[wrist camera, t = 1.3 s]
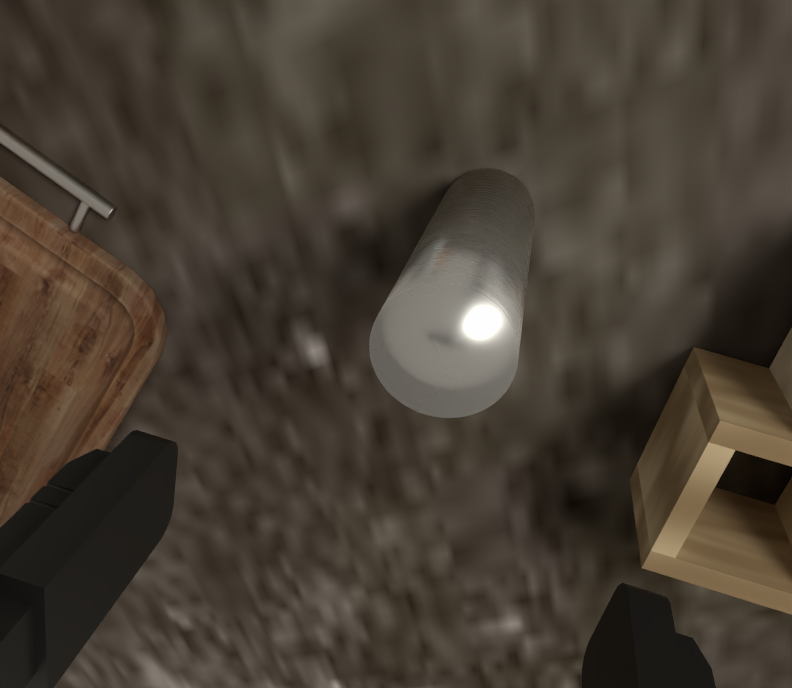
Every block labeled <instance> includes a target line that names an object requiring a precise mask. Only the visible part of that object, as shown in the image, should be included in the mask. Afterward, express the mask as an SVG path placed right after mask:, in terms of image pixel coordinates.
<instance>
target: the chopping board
mask: <svg viewBox="0 0 792 688" xmlns="http://www.w3.org/2000/svg"><path fill="white" fill-rule="evenodd" d="M0 144H1V145H3V146H4V147H6V148H7V149H8V150H10V151H11V152H13V153H14V154H15V155H17V156H18V157H20V158H21V159H22V160H24V161H25V162H27V163H28V164H29V165H31V166H32V167H34V168H35V169H36V170H38V171H39V172H41V173H42V174H43V175H45V176H46V177H48V178H49V179H50V180H52V181H53V182H55V183H56V184H57V185H59V186H60V187H62V188H63V189H65V190H66V191H67V192H69V193H70V194H72V195H73V196H74V197H76V198H77V199H79V200H80V201H81V202H80V205H79V207H78V209H77V211H76V213H75V216H74V218H73V220H72V222H71V224H70V226H69V225H68V224H66V223H65V222H64V221H62V220H61V219H59V218H58V217H57V216H55V215H54V214H52V213H51V212H49V211H48V210H47V209H45V208H44V207H42V206H41V205H40V204H38V203H37V202H35V201H34V200H32V199H31V198H30V197H28V196H27V195H25V194H24V193H23V192H21V191H20V190H18V189H17V188H15V187H14V186H13V185H11V184H10V183H8V182H7V181H6V180H4V179H3V178H1V177H0V527H1V526H2V525H3V524H5V523H6V522H7V521H8V520H9V519H10V518H11V517H12V516H13V515H14V514H15V513H16V512H17V511H18V510H19V509H20V508H21V507H22V506H23V505H24V504H25V503H26V502H27V503H29V502H30V500H31V497H33V496H34V495H35V494H36V493H37V492H38V491H39V490H40V489H41V488H42V487H43V486H46V485H47V482H48V481H49V480H50V479H51V478H52V477H53V476H54V475H55V474H56V473H57V472H58V471H59V470H60V469H62V468H63V467H64V466H65V465H66V464H67V463H68V462H70V461H72V460H74V459H76V458H78V457H80V456H82V455H84V454H86V453H88V452H91V451H93V450H95V449H100V450H103V451H104V450H105V448H106V446H107V445H108V443H109V441H110V440H111V438H112V436H113V435H114V433H115V431H116V430H117V428H118V426H119V425H120V423H121V421H122V420H123V418H124V416H125V415H126V413H127V411H128V410H129V408H130V406H131V405H132V403H133V401H134V400H135V398H136V396H137V395H138V393H139V391H140V390H141V388H142V386H143V385H144V383H145V381H146V380H147V378H148V376H149V375H150V373H151V371H152V370H153V368H154V366H155V365H156V363H157V361H158V360H159V358H160V356H161V354H162V351H163V348H164V344H165V341H166V338H167V330H166V323H165V316H164V311H163V309H162V307H161V305H160V304H159V302H158V300H157V298H156V296H155V294H154V292H153V291H152V289H151V288H150V287H149V286H148V285H147V284H146V283H145V282H144V281H143V280H142V279H141V278H140V277H139V276H138V275H137V274H136V273H135V272H134V271H133V270H131V269H130V268H129V267H127V266H126V265H124V264H123V263H122V262H120V261H119V260H117V259H116V258H115V257H113V256H112V255H110V254H109V253H107V252H106V251H105V250H103V249H102V248H100V247H99V246H98V245H96V244H95V243H93V242H92V241H90V240H89V239H88V238H86V237H85V236H83V235H82V234H81V233H79V232H80V230H81V228H82V226H83V223H84V221H85V219H86V217H87V215H88V213H89V210H90V208H91V209H93V210H94V211H95V212H97V213H98V214H100V215H101V216H102V217H104V218H105V219H107V220H109V219H112V218H113V216H114V214H115V212H116V210H117V206H115V205H114V204H113V203H111V202H110V201H109V200H107V199H106V198H104V197H103V196H102V195H100V194H99V193H97V192H96V191H95V190H93V189H92V188H90V187H89V186H88V185H86V184H85V183H83V182H82V181H81V180H79V179H78V178H76V177H75V176H74V175H72V174H71V173H69V172H68V171H67V170H65V169H64V168H62V167H61V166H60V165H58V164H57V163H55V162H54V161H53V160H51V159H50V158H48V157H47V156H46V155H44V154H43V153H41V152H40V151H39V150H37V149H36V148H34V147H33V146H32V145H30V144H29V143H28V142H26V141H25V140H23V139H22V138H21V137H19V136H18V135H16V134H15V133H14V132H12V131H11V130H9V129H8V128H7V127H5V126H4V125H2V124H1V123H0Z"/></svg>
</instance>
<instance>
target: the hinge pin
mask: <svg viewBox="0 0 792 688" xmlns="http://www.w3.org/2000/svg"><path fill="white" fill-rule="evenodd" d="M534 218H535V210H534V204H533V201H532V198H531V196H530V193H529V192H528V190H527V189H526V187H525V186H524V185H523V184H522V183H521V182H520V181H519V180H518V179H517V178H516V177H514V176H513V175H511V174H509V173H507V172H504V171H501V170H497V169H490V168H485V169H477V170H473V171H470V172H468V173H466V174H464V175H462V176H461V177H459V178H458V179H457V180H456V181H454V182H453V184H452V185H451V186H450V187H449V189H448V190H447V192H446V193H445V195H444V197H443V199H442V200H441V202H440V204H439V206H438V208H437V209H436V211H435V213H434V215H433V217H432V218H431V220H430V222H429V224H428V226H427V227H426V229H425V231H424V233H423V235H422V236H421V238H420V240H419V242H418V244H417V245H416V247H415V249H414V251H413V253H412V255H411V256H410V258H409V260H408V262H407V264H406V265H405V267H404V269H403V271H402V273H401V274H400V276H399V278H398V280H397V282H396V283H395V285H394V287H393V289H392V291H391V292H390V294H389V296H388V298H387V300H386V301H385V303H384V305H383V307H382V309H381V310H380V312H379V314H378V316H377V318H376V320H375V322H374V324H373V327H372V330H371V334H370V341H369V351H370V358H371V362H372V365H373V368H374V371H375V373H376V375H377V377H378V379H379V380H380V382H381V383H382V385H383V386H384V387H385V389H386V390H387V391H388V392H389V393H390V394H391V395H392V396H393V397H394V398H396V399H397V400H398V401H399V402H401V403H402V404H404V405H405V406H407V407H409V408H411V409H413V410H415V411H417V412H420V413H423V414H426V415H430V416H434V417H441V418H457V417H464V416H469V415H472V414H475V413H478V412H480V411H482V410H484V409H486V408H488V407H490V406H491V405H493V404H494V403H495V402H497V401H498V400H499V399H500V398H501V397H502V396H503V395H504V393H505V392H506V391H507V390H508V388H509V386H510V385H511V383H512V381H513V379H514V376H515V373H516V370H517V365H518V356H519V347H520V339H521V330H522V322H523V313H524V304H525V296H526V287H527V278H528V270H529V261H530V253H531V244H532V235H533V227H534Z"/></svg>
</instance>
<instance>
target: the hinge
mask: <svg viewBox="0 0 792 688" xmlns="http://www.w3.org/2000/svg"><path fill="white" fill-rule="evenodd" d="M735 450H737V451H740V452H743V453H747V454H750V455H754V456H757V457H760V458H764V459H767V460H771V461H774V462H777V463H781V464H784V465H788V466H791V467H792V328H791V329H790V331H789V333H788V335H787V337H786V338H785V340H784V342H783V344H782V346H781V348H780V349H779V351H778V353H777V355H776V357H775V358H774V360H773V362H772V364H771V366H770V368H766V367H763V366H759V365H756V364H752V363H749V362H745V361H742V360H738V359H735V358H731V357H728V356H724V355H720V354H717V353H713V352H710V351H706V350H703V349H699V348H696V347H693V349H692V351H691V353H690V355H689V357H688V359H687V361H686V363H685V365H684V368H683V370H682V372H681V374H680V376H679V378H678V380H677V382H676V384H675V386H674V388H673V390H672V392H671V395H670V397H669V399H668V401H667V403H666V405H665V407H664V409H663V411H662V413H661V415H660V417H659V420H658V422H657V424H656V426H655V428H654V430H653V432H652V434H651V436H650V438H649V440H648V442H647V444H646V447H645V449H644V451H643V453H642V455H641V457H640V459H639V461H638V463H637V465H636V467H635V469H634V472H633V474H632V476H631V478H630V487H631V494H632V501H633V508H634V516H635V523H636V530H637V538H638V545H639V552H640V560H641V567H642V568H643V569H647V570H650V571H653V572H656V573H659V574H663V575H666V576H669V577H672V578H676V579H679V580H682V581H685V582H688V583H692V584H695V585H698V586H701V587H705V588H708V589H711V590H714V591H717V592H721V593H724V594H727V595H730V596H734V597H737V598H740V599H743V600H746V601H750V602H753V603H756V604H759V605H763V606H766V607H769V608H772V609H775V610H779V611H782V612H785V613H788V614H792V478H791V479H790V481H789V483H788V484H787V486H786V487H785V489H784V491H783V492H782V494H781V495H780V497H779V499H778V500H777V502H776V504H775V505H773V504H770V503H767V502H763V501H760V500H757V499H753V498H750V497H747V496H743V495H740V494H737V493H733V492H730V491H726V490H723V489H720V488H716V487H715V486H716V484H717V483H718V481H719V479H720V477H721V475H722V474H723V472H724V470H725V468H726V466H727V465H728V463H729V461H730V459H731V458H732V456H733V454H734V452H735Z"/></svg>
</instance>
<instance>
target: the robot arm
mask: <svg viewBox="0 0 792 688" xmlns="http://www.w3.org/2000/svg"><path fill="white" fill-rule="evenodd" d="M177 456H178V446H177V444H176V442H173V441H170V440H167V439H164V438H161V437H157V436H154V435H151V434H148V433H145V432H141V431H138V430H135V431H132V432H131V433H130V434H129V435H127V437H126V438H125V439H124V440H123V441H122V442H121V443H120V444H119V445H118V446H117V447H116V448H115V449H114V450H113V451H112V452H111V453H109V452H106V451H103V450H100V449H95V450H93V451H91V452H88V453H86V454H84V455H82V456H80V457H78V458H76V459H74V460H72V461H70V462H68V463H67V464H66V465H65V466H64V467H63V468H62V469H60V470H59V471H58V472H57V473H56V474H55V475H54V476H53V477H52V478H51V479H50V480H49V481H48V482H47V485H46V486H43V487H42V488H41V489H40V490H39V491H38V492H37V493H36V494H35V495H34V496H33V497H31V500H30V502H29V503H27V502H26V503H25V504H24V505H23V506H22V507H21V508H20V509H19V510H18V511H17V512H16V513H15V514H14V515H13V516H12V517H11V518H10V519H9V520H8V521H7V522H6V523H5V524H3V525H2V526H1V527H0V688H54V686H55V685H56V684H57V682H58V681H59V679H60V678H61V677H62V675H63V674H64V673H65V671H66V670H67V668H68V667H69V666H70V664H71V663H72V661H73V660H74V659H75V657H76V656H77V655H78V653H79V652H80V650H81V649H82V648H83V646H84V645H85V644H86V642H87V641H88V639H89V638H90V637H91V635H92V634H93V632H94V631H95V630H96V628H97V627H98V626H99V624H100V623H101V621H102V620H103V619H104V617H105V616H106V614H107V613H108V612H109V610H110V609H111V608H112V606H113V605H114V603H115V602H116V601H117V599H118V598H119V597H120V595H121V594H122V592H123V591H124V590H125V588H126V587H127V585H128V584H129V583H130V581H131V580H132V579H133V577H134V576H135V574H136V573H137V572H138V570H139V569H140V567H141V566H142V565H143V563H144V562H145V561H146V559H147V558H148V556H149V555H150V554H151V552H152V551H153V550H154V548H155V547H156V545H157V544H158V543H159V541H160V540H161V538H162V536H163V535H164V533H165V531H166V528H167V526H168V524H169V521H170V518H171V515H172V510H173V504H174V492H175V480H176V468H177ZM582 688H716V687H715V682H714V678H713V673H712V669H711V667H710V665H709V664H708V662H707V660H706V659H705V657H704V655H703V654H702V652H701V651H700V649H699V647H698V646H697V644H696V642H695V641H694V639H693V638H691V637H688V636H685V635H681V634H678V633H675V627H674V621H673V616H672V610H671V605H670V602H669V599H668V598H667V597H666V596H663V595H660V594H657V593H654V592H650V591H647V590H644V589H641V588H638V587H634V586H631V585H628V584H625V583H621V584H620V585H619V586H618V587H617V588H616V590H615V592H614V594H613V596H612V598H611V600H610V602H609V603H608V605H607V607H606V609H605V611H604V613H603V615H602V617H601V619H600V621H599V623H598V625H597V627H596V629H595V631H594V633H593V635H592V637H591V638H590V641H589V643H588V646H587V649H586V652H585V656H584V661H583V667H582Z"/></svg>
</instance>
